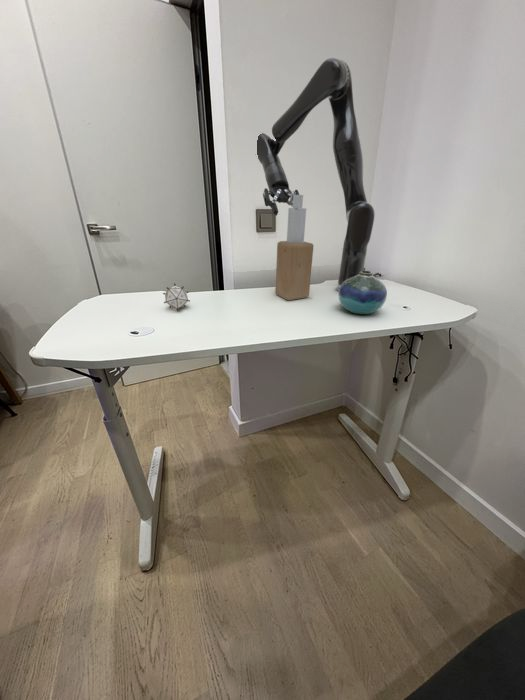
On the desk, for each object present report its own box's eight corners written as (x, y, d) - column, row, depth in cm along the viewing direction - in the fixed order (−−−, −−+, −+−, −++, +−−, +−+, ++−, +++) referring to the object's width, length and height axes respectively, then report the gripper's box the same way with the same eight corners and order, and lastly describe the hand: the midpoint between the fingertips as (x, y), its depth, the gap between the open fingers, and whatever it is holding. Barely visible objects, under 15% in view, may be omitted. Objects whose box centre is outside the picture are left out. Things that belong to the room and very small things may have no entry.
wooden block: (287, 301, 108) (291, 244, 98) (274, 294, 115) (276, 241, 106) (309, 298, 112) (314, 243, 102) (295, 291, 120) (299, 239, 110)
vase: (365, 302, 108) (372, 266, 102) (392, 317, 95) (402, 276, 89) (328, 305, 104) (333, 267, 98) (351, 321, 91) (358, 278, 85)
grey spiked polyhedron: (185, 318, 100) (199, 297, 96) (162, 316, 94) (177, 293, 89) (175, 300, 104) (189, 279, 99) (153, 296, 97) (167, 274, 93)
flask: (304, 241, 107) (307, 195, 100) (303, 243, 101) (306, 194, 94) (287, 240, 107) (290, 194, 101) (286, 242, 102) (288, 194, 95)
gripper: (261, 169, 105) (272, 205, 101) (296, 171, 110) (308, 206, 106) (256, 186, 112) (266, 221, 108) (289, 188, 117) (300, 221, 112)
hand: (287, 214), depth 107 cm, fingers open, 8 cm apart
